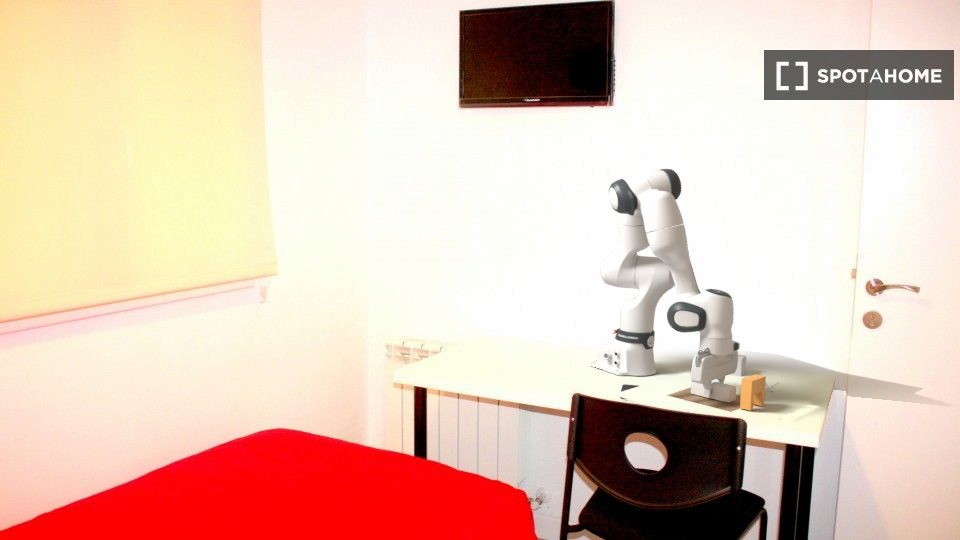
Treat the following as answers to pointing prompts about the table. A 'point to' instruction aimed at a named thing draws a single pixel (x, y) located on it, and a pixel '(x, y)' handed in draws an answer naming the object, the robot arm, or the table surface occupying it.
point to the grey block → (740, 366)
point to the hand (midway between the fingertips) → (713, 392)
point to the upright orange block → (752, 391)
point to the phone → (627, 388)
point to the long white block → (716, 391)
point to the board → (707, 400)
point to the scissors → (769, 387)
